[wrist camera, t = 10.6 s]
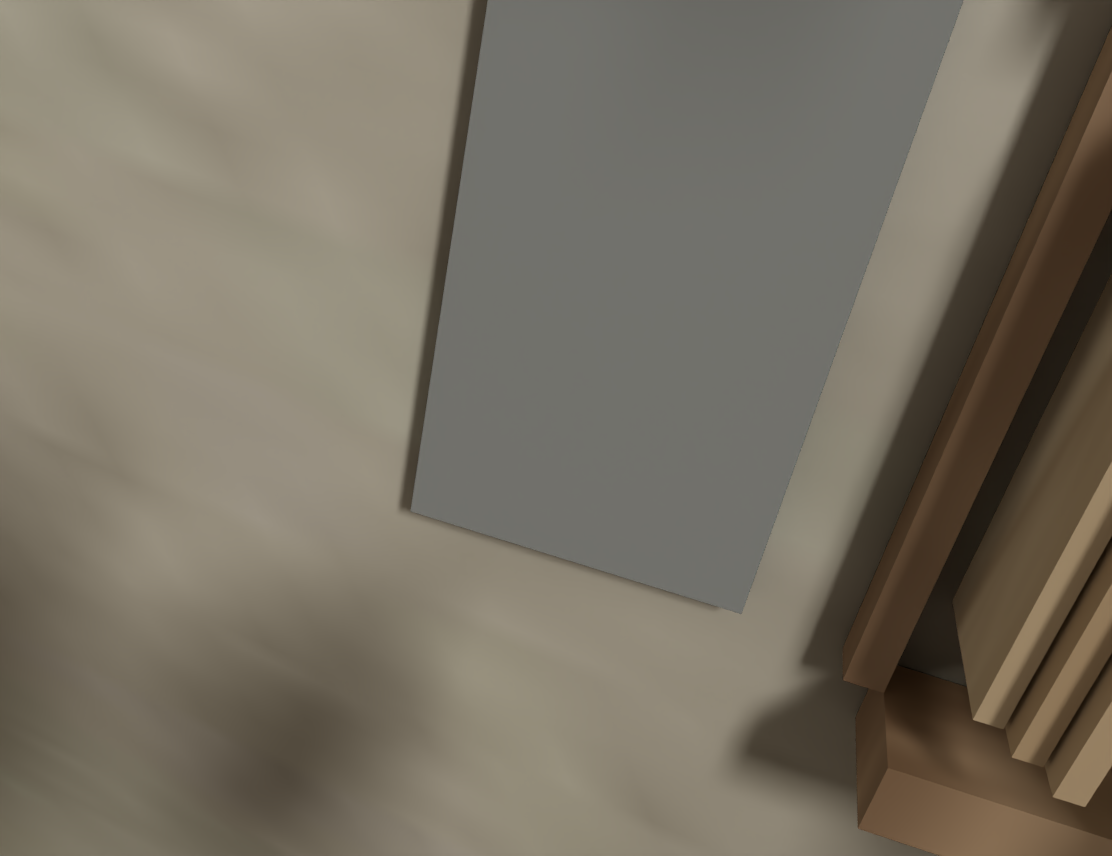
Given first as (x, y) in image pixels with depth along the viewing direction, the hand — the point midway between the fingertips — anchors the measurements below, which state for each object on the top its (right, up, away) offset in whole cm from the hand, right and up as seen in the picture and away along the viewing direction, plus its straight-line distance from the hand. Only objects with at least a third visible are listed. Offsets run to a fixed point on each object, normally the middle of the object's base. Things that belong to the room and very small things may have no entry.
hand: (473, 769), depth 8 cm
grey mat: (+2, +6, +10) cm, 12 cm away
